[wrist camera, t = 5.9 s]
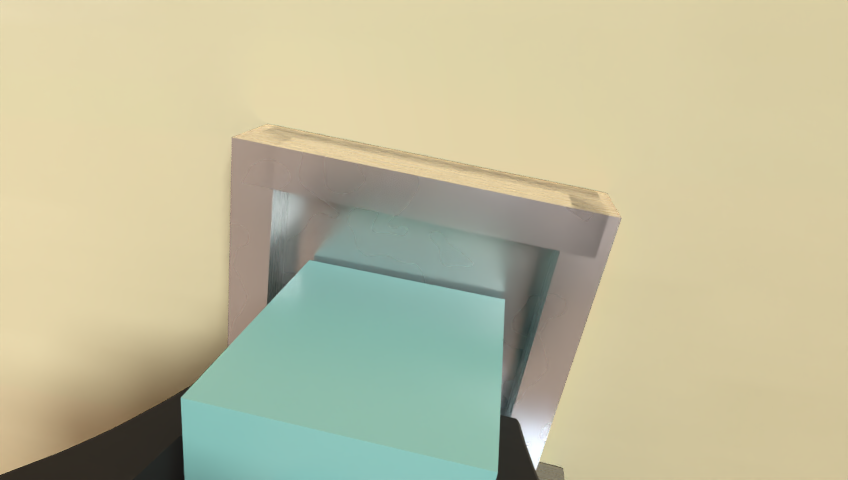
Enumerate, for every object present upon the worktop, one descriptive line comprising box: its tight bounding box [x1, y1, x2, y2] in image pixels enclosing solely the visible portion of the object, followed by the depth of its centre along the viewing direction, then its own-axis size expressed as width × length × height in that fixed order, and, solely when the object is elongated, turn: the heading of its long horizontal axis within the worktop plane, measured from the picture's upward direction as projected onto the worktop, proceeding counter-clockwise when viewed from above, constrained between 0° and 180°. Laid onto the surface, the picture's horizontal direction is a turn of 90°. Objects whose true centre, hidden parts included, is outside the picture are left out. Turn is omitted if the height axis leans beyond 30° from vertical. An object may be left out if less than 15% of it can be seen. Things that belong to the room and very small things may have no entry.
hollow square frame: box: [228, 124, 621, 480], centre depth 13 cm, size 12×16×6 cm
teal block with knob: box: [181, 260, 505, 480], centre depth 11 cm, size 5×5×6 cm
